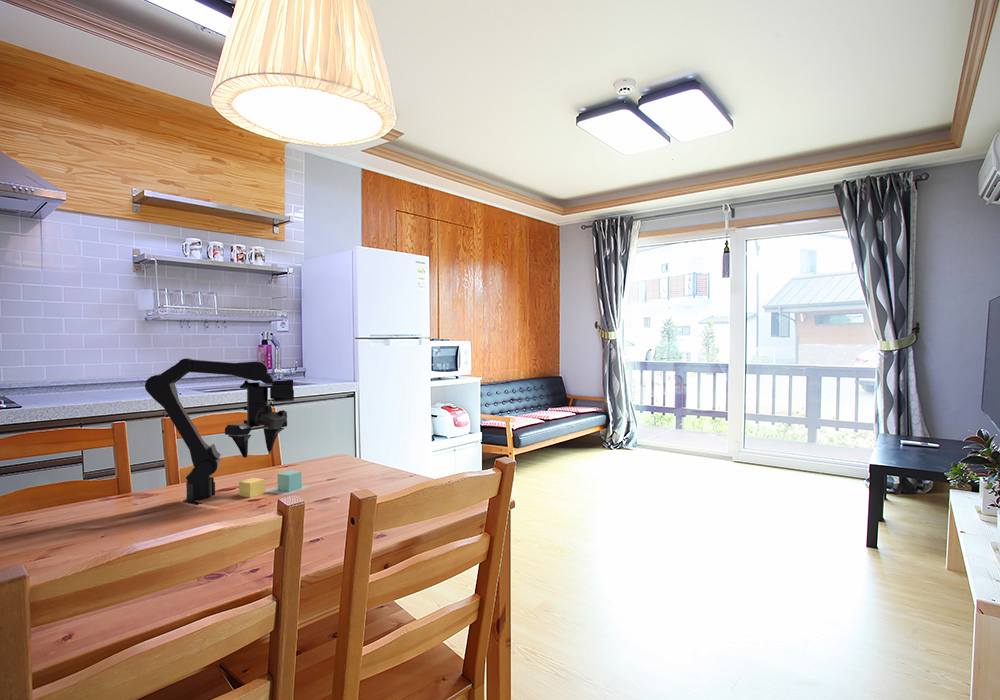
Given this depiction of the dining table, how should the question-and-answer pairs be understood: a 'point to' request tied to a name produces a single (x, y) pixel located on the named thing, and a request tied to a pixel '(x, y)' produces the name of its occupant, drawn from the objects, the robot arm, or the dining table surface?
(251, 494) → the ochre brick
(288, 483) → the teal brick
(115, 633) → the dining table surface
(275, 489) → the build plate
